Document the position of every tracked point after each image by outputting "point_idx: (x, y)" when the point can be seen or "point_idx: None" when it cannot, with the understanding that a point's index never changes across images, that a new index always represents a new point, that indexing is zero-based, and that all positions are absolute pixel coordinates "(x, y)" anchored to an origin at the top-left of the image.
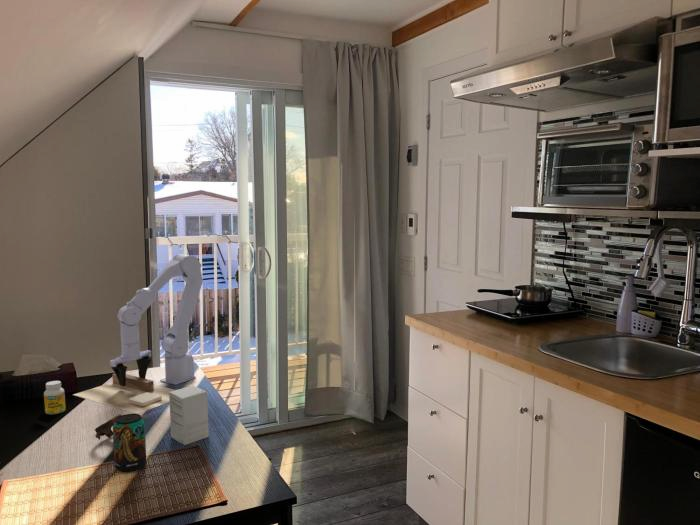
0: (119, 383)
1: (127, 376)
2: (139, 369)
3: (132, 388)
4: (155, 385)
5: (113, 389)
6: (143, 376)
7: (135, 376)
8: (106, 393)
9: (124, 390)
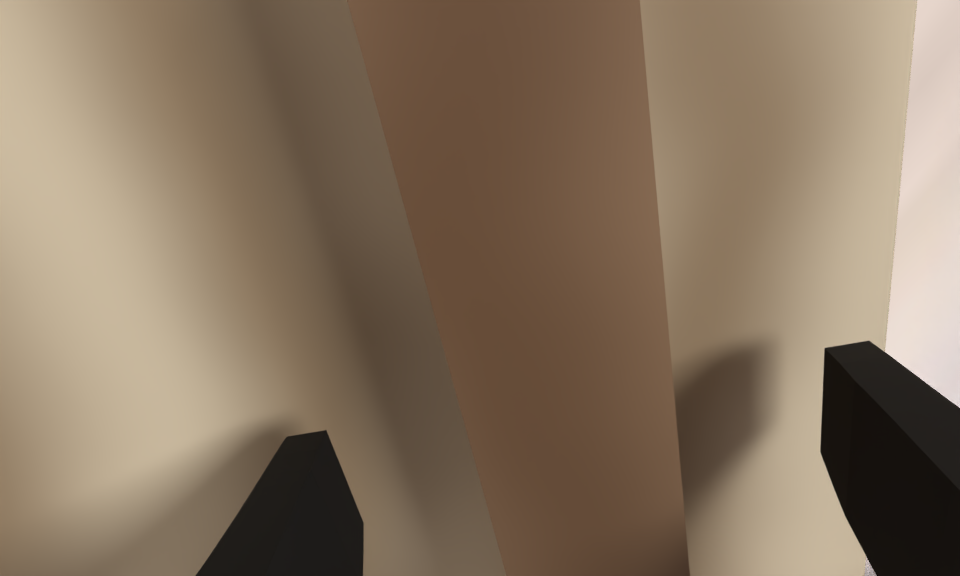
0: (266, 476)
1: (546, 424)
2: (958, 540)
3: None
4: (845, 560)
5: (187, 279)
6: (854, 520)
7: (681, 532)
8: (7, 394)
9: (346, 459)
